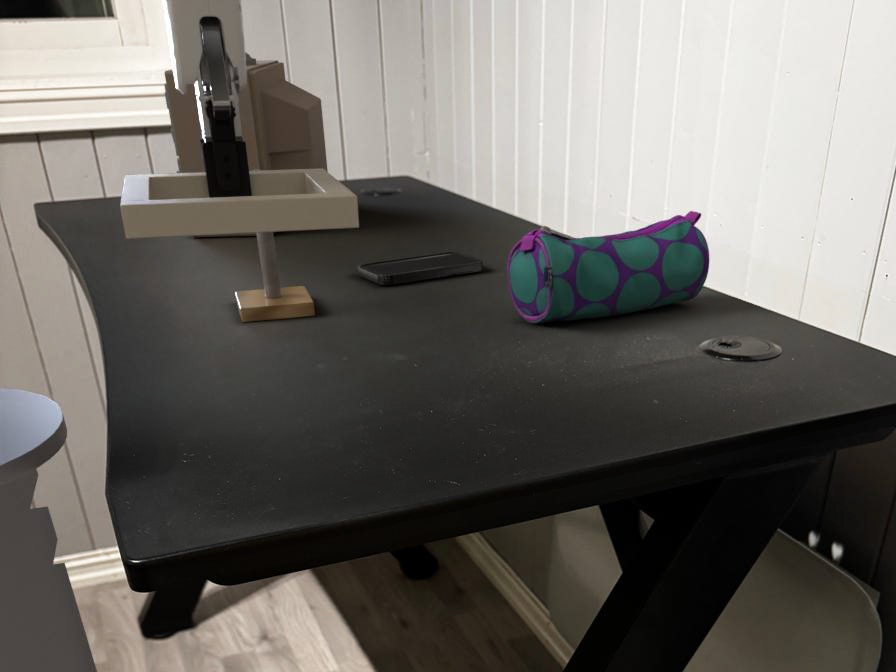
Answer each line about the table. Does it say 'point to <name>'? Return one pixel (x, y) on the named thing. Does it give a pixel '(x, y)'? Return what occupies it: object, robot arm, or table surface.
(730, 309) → the table surface
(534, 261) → the pencil case
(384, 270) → the phone
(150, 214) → the white square frame
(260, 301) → the wooden base with peg
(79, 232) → the table surface
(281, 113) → the television
